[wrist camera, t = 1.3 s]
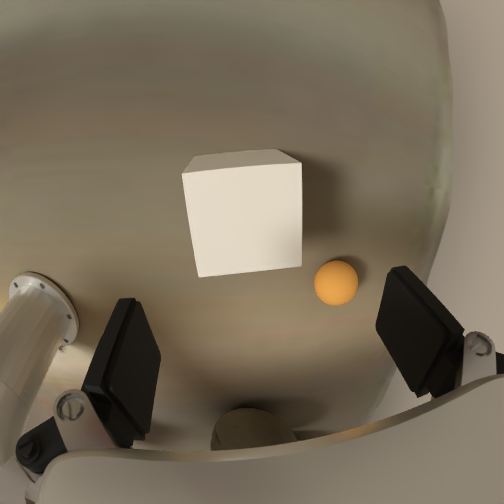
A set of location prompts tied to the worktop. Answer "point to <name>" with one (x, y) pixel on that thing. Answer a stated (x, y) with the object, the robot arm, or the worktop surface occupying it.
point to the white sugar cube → (244, 211)
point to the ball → (336, 283)
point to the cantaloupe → (249, 430)
